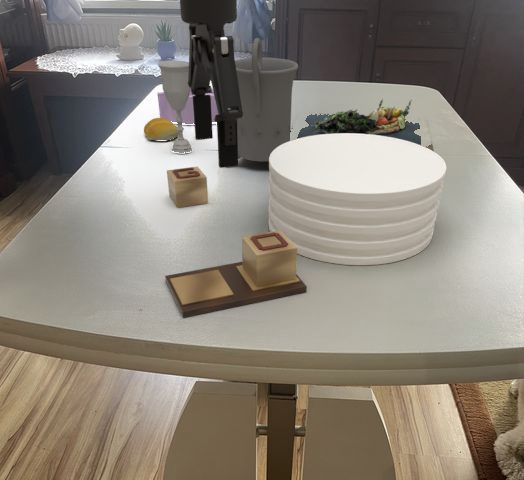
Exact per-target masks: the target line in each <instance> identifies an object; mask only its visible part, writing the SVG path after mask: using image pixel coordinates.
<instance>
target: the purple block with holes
mask: <svg viewBox="0 0 524 480" xmlns="http://www.w3.org/2000/svg"><path fill="white" fill-rule="evenodd" d="M211 92H213V88H212V91H211ZM205 95H210V96H211V115H212V122H215V120H214V119H215V116H216V115H219V114H218V110H217V105H216V101H215V96H214V92H213V93H207V94H205ZM193 96H195V95H193V94H192V92H191V89H190V94H189V98H188V101H187V104H186V107H185V109H184V110H182V111H181V117H182V119H183V121H182V123H185V124H193V123H194V109H193ZM157 101H158V112H159V118H164V119H168V120H170V121H172V122H177V121H176V119H177V113H176V111H175V110H173V109H172V108H171V106H170V104H169V102H168V100H167V98H166V96H165V94H164V91H161V92H160V91H159V92H157ZM229 109H230V108H228V110H229Z"/></svg>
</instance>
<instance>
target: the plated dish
mask: <svg viewBox="0 0 524 480" xmlns="http://www.w3.org/2000/svg"><path fill="white" fill-rule="evenodd" d="M383 101H384V99H381V100H380V102H379V103H378V106H379V107H377V108H375V110H374V111H372V112H370V113H369V114H366V115H365V114H360V113H359V111H358V109H355V110H353V108H352V109H349V110H346V111H343V110H341V111H337V112H335V113H331V114H332V115H329V114H330V113H323V114H324V115H321V114H322V113H319V114H320V115H318V116H317V114H315V115H312V114H311V115H309V116H307V118H306V120H305V121H306V122H307V123H308V124H309V126H308V127H305V128H302V129H301V130H300V132H299V134H298V137H297V139H298V138H302V137H307V136H313V135H321V134H335V133H356V134H371V135H380V136H386V137H392V138H397V139H402V140H405V141H409V142H412V143H416V144H418V145H421V136H419V135H417V134H415V133H414V131H415V130H417V129H420V125H419V123H415V124H413V123H412V122H410V123H409V122H408V121H406V122H405V120H406V119H405V118H406V117H407V116H408V115H409V113H410V109H411V105H412V101H413V100H412V99H410V101H408V105H406V107H405V108H404V110H403V108H402V107H401V106H399V107H398V108H395V106H387V107H386V106H382V104H383V103H384V102H383ZM357 111H358V112H357ZM326 114H327V115H326ZM328 115H329V116H328ZM426 148H428V149H430V150H432V151H434V152H435V150H434V145H433V143H432V144H431V145H429V146H428V147H427V146H426Z"/></svg>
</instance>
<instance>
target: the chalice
mask: <svg viewBox="0 0 524 480" xmlns="http://www.w3.org/2000/svg"><path fill="white" fill-rule="evenodd" d="M157 66H158V67H159V70H160V75H161V85H162V92H164V94H165V96H166V98H167V100H168V102H169V104H170V106H171V108H172V109H173V110H175V111H176V113H177V119H176V121H177V123H178V125H177V128H176V129H177V130H178V133H179V136H178V137H177V138H175V139H174V141H173V142H172V143H173V144H172V146H171V150H172V151H174V152H179V153H184V152H185V153H186V152H190V151H192V149H193V148H192V145H191V143H190V140H188V139H187V138H185V137H184V135H183V132H184V130H185V128H184V126H182V121H183V119H182V117H181V111H182V110H184V109H185V107H186V104H187V101H188V98H189V94H190V89H191V88H189V86H188V73H189V61H186V60H164V61H160V62H158V63H157Z"/></svg>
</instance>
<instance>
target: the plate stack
mask: <svg viewBox="0 0 524 480" xmlns="http://www.w3.org/2000/svg"><path fill="white" fill-rule="evenodd" d="M268 169H269V173H268V185H269V187H268V231H269V232H271V231H277V230H281V231H282V232H283V233H284V234H285V235H286V236H287V237H288V238H289V240H290V241H291V242H292V243H293V244H294V245H295V246H296V247H297V255H299V256H302V257H305V258H308V259H312V260H315V261H319V262H324V263H329V264H334V265H335V264H336V265H344V266H345V265H346V266H377V265H385V264H386V265H387V264H391V263H396V262H400V261H403V260H406V259H409V258H412V257H413V256H416V255H418V254H420V253H421V252H423V251H424V250H425V249H426V248H427V247H428V246H429V245H430V243H431V241H432V239H433V235H434V230H435V225H436V221H437V217H438V210H439V206H440V201H441V200H440V199H441V195H442V194H443V193H442V192H443V187H444V181H445V178H446V174H447V163H446V162H445V160H444V159H443V158H442V157H441V156H440V155H439V154H438V153H436V152H435V150H434V151H432V150H430V149H428V148H426V147H424V146H421V145H418V144H416V143H412V142H409V141H405V140H402V139H397V138H392V137H386V136H380V135H371V134H356V133H335V134H321V135H313V136H307V137H302V138H298V139H295V140H292V141H289V142H286V143H284V144H282V145H280V146H278V147H277V148H276V149H274V150H273V151H272V153H271V154H270V157H269V161H268Z"/></svg>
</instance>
